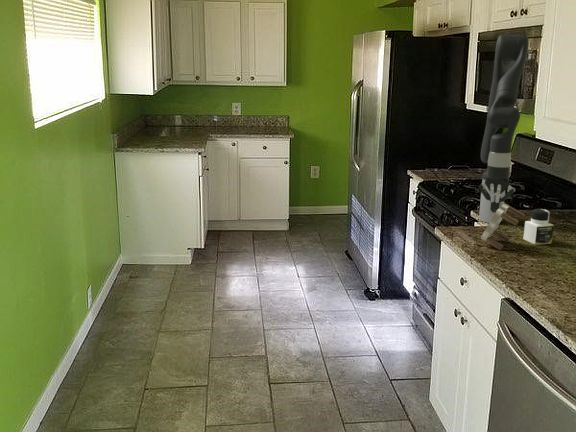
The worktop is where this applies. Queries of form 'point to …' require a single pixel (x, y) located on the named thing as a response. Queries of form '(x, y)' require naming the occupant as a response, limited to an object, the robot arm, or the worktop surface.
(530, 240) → the medicine bottle
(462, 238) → the worktop surface
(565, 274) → the worktop surface
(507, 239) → the footstool
